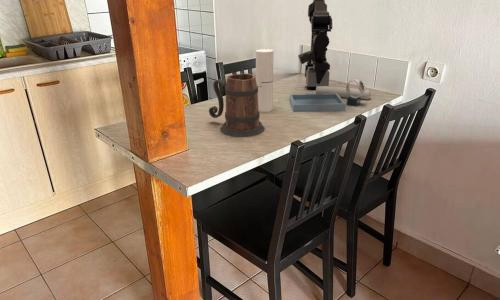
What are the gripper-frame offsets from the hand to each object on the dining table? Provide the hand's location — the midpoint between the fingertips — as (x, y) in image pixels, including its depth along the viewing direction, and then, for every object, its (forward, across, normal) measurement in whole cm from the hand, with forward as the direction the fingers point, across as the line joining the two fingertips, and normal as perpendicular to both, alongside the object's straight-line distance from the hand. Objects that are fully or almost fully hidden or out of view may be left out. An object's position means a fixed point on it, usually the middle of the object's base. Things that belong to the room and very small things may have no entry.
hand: (317, 82), depth 160 cm
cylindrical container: (+11, +4, -23) cm, 26 cm away
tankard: (+11, +25, -35) cm, 44 cm away
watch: (+11, -1, +17) cm, 20 cm away
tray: (+10, 0, 0) cm, 11 cm away
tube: (+11, -12, +15) cm, 22 cm away
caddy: (+1, 0, 0) cm, 1 cm away
